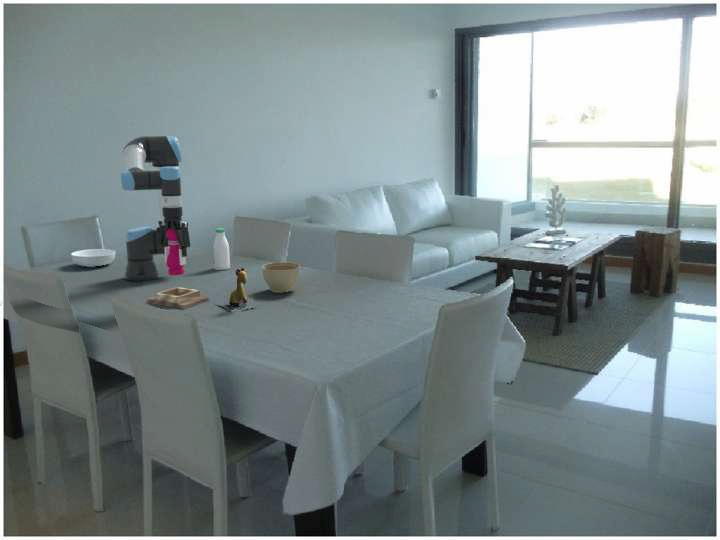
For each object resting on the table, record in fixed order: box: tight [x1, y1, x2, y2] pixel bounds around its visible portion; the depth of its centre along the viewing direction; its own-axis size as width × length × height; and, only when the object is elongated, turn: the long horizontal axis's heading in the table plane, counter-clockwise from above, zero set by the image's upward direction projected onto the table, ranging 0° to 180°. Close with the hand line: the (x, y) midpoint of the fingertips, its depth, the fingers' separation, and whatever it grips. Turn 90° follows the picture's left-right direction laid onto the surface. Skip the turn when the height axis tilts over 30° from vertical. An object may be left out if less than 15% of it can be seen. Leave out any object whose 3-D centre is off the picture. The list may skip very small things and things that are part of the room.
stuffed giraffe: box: [215, 267, 254, 312], centre depth 268 cm, size 16×18×16 cm
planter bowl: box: [261, 261, 301, 294], centre depth 290 cm, size 16×16×11 cm
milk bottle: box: [212, 227, 231, 271], centre depth 333 cm, size 8×8×20 cm
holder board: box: [146, 286, 210, 310], centre depth 273 cm, size 20×14×4 cm
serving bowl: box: [70, 248, 116, 268], centre depth 342 cm, size 21×21×7 cm
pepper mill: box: [165, 229, 185, 276], centre depth 269 cm, size 7×7×20 cm
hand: (175, 263), depth 270 cm, fingers closed on pepper mill, 7 cm apart
